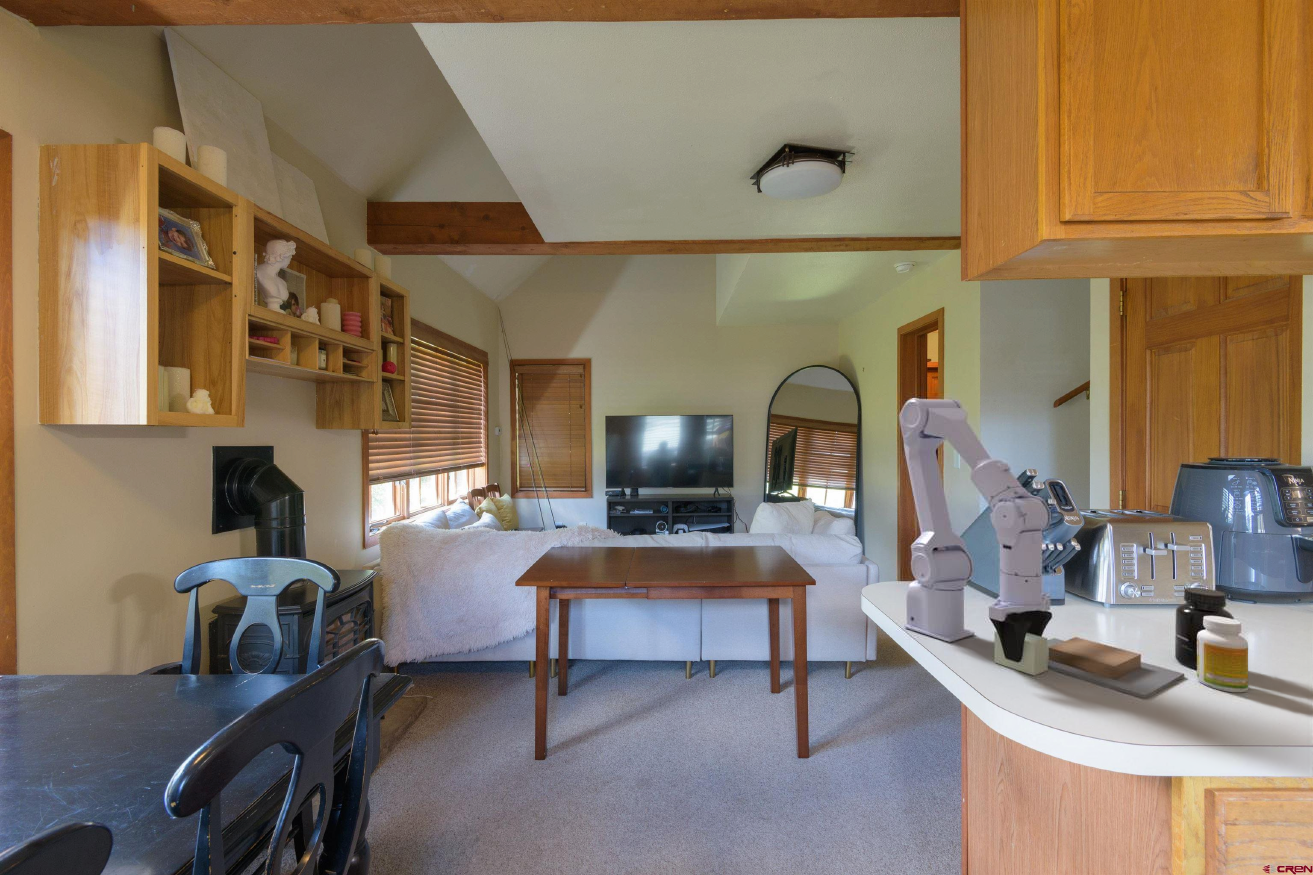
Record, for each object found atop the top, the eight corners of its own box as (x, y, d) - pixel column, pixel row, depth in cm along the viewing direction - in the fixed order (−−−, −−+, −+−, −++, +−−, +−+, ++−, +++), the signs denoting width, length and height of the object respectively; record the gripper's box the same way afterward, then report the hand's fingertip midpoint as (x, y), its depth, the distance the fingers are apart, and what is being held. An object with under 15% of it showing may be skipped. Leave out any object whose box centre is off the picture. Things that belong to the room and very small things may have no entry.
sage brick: (994, 662, 94) (994, 631, 94) (1008, 657, 96) (1008, 627, 96) (1034, 675, 88) (1034, 643, 88) (1047, 669, 90) (1047, 638, 90)
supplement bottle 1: (1165, 661, 94) (1165, 588, 94) (1188, 654, 96) (1189, 583, 96) (1220, 677, 87) (1220, 599, 87) (1243, 670, 90) (1243, 593, 90)
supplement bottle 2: (1258, 695, 82) (1259, 626, 82) (1214, 691, 83) (1214, 624, 83) (1229, 679, 87) (1229, 614, 87) (1188, 676, 88) (1187, 613, 88)
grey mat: (1011, 656, 96) (1011, 653, 96) (1054, 640, 103) (1054, 637, 103) (1144, 699, 81) (1144, 695, 81) (1184, 676, 88) (1184, 673, 88)
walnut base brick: (1048, 659, 94) (1048, 647, 93) (1075, 648, 98) (1075, 636, 98) (1114, 679, 86) (1114, 666, 86) (1140, 666, 90) (1140, 654, 90)
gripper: (1022, 584, 85) (1022, 676, 85) (1071, 571, 92) (1071, 656, 92) (975, 574, 91) (975, 659, 91) (1024, 563, 98) (1024, 642, 98)
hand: (1020, 657), depth 92 cm, fingers closed on sage brick, 4 cm apart
